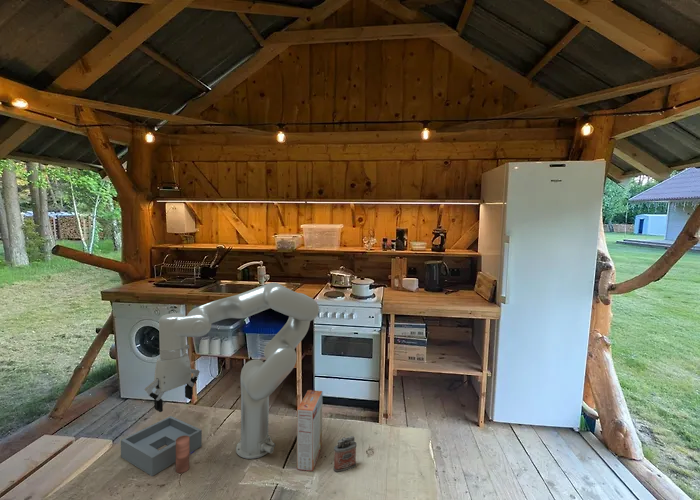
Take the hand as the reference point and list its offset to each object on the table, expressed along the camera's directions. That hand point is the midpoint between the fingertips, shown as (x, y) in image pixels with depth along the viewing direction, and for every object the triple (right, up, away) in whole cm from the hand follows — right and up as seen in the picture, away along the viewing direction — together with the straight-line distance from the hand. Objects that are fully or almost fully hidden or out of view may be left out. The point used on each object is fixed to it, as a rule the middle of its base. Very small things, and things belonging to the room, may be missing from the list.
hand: (174, 404), depth 111 cm
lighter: (+55, -23, +3) cm, 60 cm away
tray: (-9, -21, +9) cm, 24 cm away
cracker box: (+43, -22, +8) cm, 49 cm away
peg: (+2, -21, 0) cm, 21 cm away
